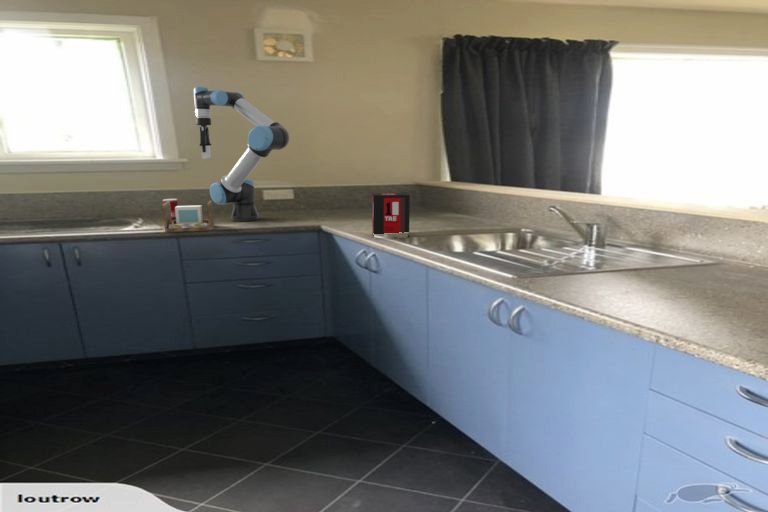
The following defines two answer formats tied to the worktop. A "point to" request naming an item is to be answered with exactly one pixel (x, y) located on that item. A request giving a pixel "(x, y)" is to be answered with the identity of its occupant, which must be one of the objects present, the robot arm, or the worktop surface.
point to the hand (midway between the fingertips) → (206, 158)
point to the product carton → (189, 214)
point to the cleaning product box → (390, 212)
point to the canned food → (172, 206)
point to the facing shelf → (170, 227)
